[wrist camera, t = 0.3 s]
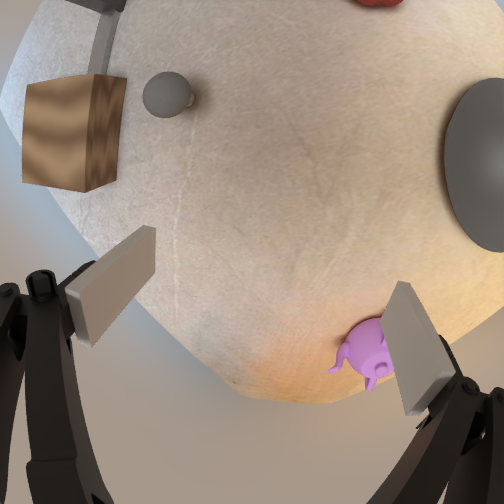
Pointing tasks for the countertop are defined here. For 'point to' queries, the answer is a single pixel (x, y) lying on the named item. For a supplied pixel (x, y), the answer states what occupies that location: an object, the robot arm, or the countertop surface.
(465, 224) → the flat disc
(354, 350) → the teapot
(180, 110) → the light bulb
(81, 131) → the shelf
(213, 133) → the countertop surface
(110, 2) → the l-shaped hook tool
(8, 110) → the countertop surface
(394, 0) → the vegetable
